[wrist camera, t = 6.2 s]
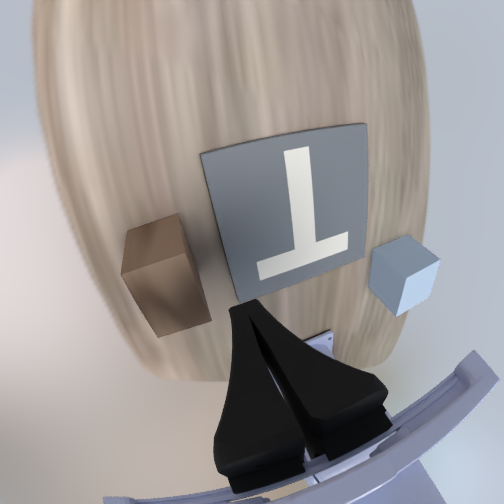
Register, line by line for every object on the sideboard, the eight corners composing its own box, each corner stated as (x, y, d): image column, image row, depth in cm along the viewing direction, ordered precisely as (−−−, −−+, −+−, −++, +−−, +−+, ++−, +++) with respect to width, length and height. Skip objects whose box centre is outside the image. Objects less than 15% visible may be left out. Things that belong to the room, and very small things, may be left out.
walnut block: (211, 320, 16) (158, 337, 15) (198, 273, 20) (154, 287, 20) (185, 252, 13) (120, 274, 13) (177, 213, 17) (127, 230, 17)
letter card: (361, 254, 24) (364, 256, 24) (237, 299, 22) (239, 303, 22) (362, 122, 18) (367, 123, 17) (199, 153, 16) (200, 155, 15)
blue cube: (400, 271, 28) (428, 297, 24) (367, 286, 28) (395, 316, 24) (407, 234, 26) (440, 259, 21) (372, 248, 25) (406, 278, 21)
